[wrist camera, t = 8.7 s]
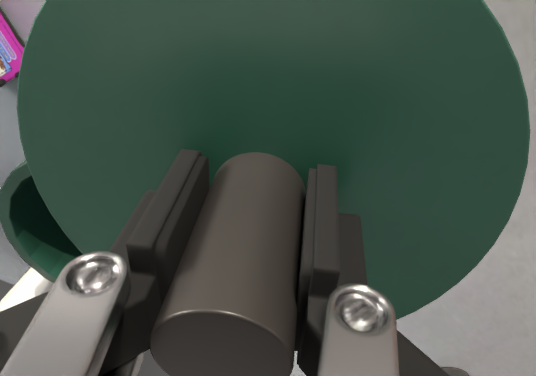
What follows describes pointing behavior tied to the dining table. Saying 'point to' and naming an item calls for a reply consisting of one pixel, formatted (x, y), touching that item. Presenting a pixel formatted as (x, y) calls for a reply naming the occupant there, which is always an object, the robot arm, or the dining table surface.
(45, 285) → the perfume bottle
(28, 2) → the dining table surface
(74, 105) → the lid
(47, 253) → the tin
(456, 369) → the sundae
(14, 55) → the candy bar box
